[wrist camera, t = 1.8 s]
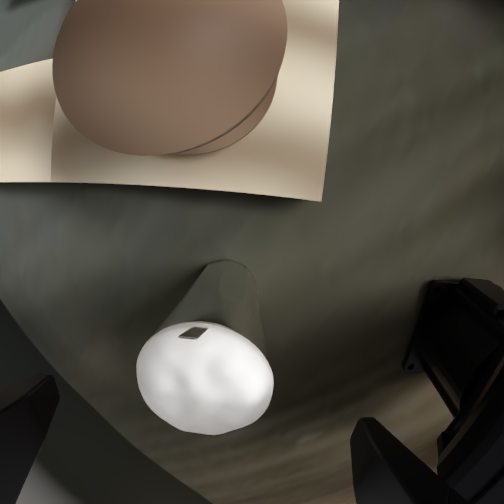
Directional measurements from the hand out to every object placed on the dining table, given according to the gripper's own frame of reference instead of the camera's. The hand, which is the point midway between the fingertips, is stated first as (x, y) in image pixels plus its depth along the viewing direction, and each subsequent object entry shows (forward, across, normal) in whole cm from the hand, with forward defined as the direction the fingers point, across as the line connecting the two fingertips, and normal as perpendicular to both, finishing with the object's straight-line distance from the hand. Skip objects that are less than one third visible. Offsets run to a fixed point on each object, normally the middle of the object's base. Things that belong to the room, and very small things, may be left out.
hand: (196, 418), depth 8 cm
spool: (+8, +2, -10) cm, 13 cm away
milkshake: (+10, 0, 0) cm, 10 cm away
